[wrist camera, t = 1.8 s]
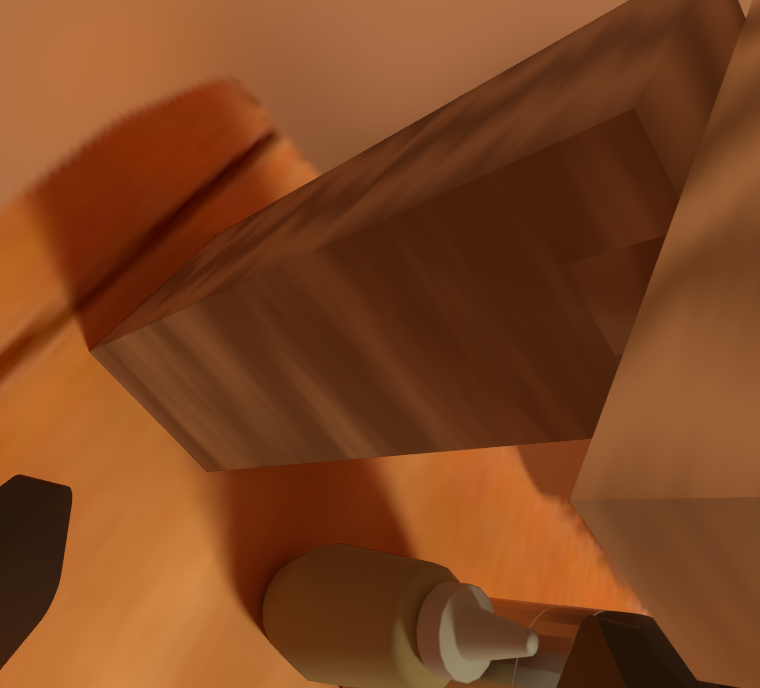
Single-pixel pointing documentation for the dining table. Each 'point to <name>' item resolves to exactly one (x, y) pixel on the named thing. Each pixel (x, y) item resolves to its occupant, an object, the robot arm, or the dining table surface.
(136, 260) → the dining table surface
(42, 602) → the robot arm
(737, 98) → the bar
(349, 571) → the squeeze bottle
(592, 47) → the stand
